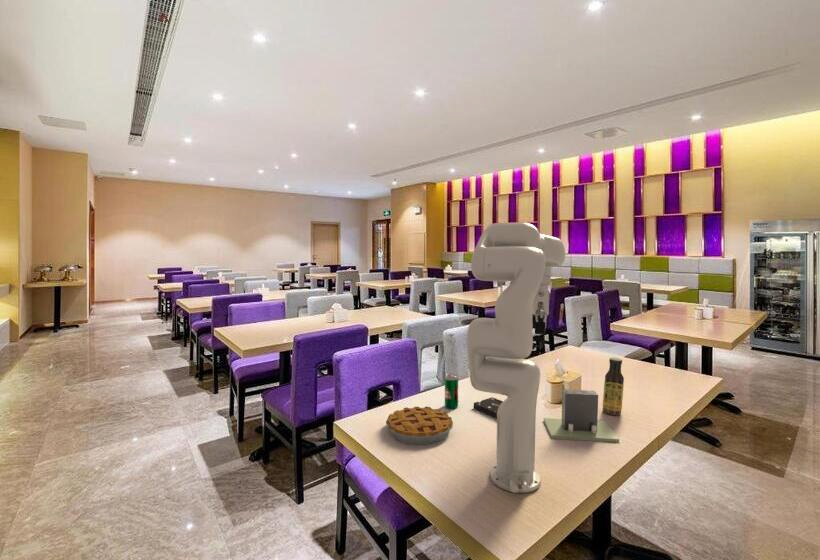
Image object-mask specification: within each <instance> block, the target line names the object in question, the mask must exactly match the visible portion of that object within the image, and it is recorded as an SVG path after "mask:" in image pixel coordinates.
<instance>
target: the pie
mask: <svg viewBox="0 0 820 560" xmlns="http://www.w3.org/2000/svg"><path fill="white" fill-rule="evenodd" d="M385 423H386V428H387V429H388V430H389V431H390V433H391V434H392V436H393V437H394V438H395V439H396V440H398V441H399V442H402V443H405V444H407V445H425V444H433V443H436V442H440V441H442V440H443V439H445V438H446V437H448V436H449V433H450V431H451V430H452V429H453V428H454V427H453V426H454V422H453V419H452V416H449V414H448V413H447V412H446V411H441V409H437V408H432V407H430V406H425V407H420V406H414V407H410V408H409V407H403V409H401V410H399V409H397V410H395V411H393V413H389V415H388V417H387V419H386V420H385Z"/></svg>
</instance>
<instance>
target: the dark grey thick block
mask: <svg viewBox="0 0 820 560" xmlns="http://www.w3.org/2000/svg"><path fill="white" fill-rule="evenodd" d="M561 392H562V393H561V397H562V398H561V419H562V426H563V428H564V430H568V428H569V424H573V430H574V431H592V425H596V426H597V421H599V420H598V418H599V414H598V413H599V394H598V393H597V392H596V391H595V390H589V389H588V390H587V389H584V390H583V389H565V388H564V389H562V391H561ZM596 432H597V429H596Z"/></svg>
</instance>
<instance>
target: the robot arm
mask: <svg viewBox="0 0 820 560" xmlns="http://www.w3.org/2000/svg"><path fill="white" fill-rule="evenodd" d="M564 245H565V244H564V242H563V241H562V240H561V238H558V237H555V236H550V235H547V234H546V235H545V234H543V233H542V234H541V233H540V231H539V230H538V229H537V227H536V226H535V225H533V224H531V223H528V222H496V223H495V222H494V223H492V224H489V225H488V226H487V227H485V229H484V230H483V232H482V233H481V235H480V237H479V240H478V241H477V243H476V246H475V248H474V250H473V253H472V257H471V261H470V269H471V273H472V275H473V276H474V278H475V279H477V280H478V281H485V282H511V283H510V284H509V285H508V286H507V287H506V288H505V289H503V291H502V292H501V293H500V295H499V296H498V297H497V298H496V300H495V303H494V308H495V309H494V311H495V312H494V313H495V317H494V318H493V317H492V318H490V317H477V318H475V319H473V320H471V322H470V324H469V325H468V327H467V331H466V352H467V353H466V354H467V363H468V372H469V381H470V384H471V387H473V389H474V390H476V391H479V392H483V393H490V394H495V395H496V394H497V395H502V396H506V398H505V399H504V401H503V400H502V401H503V402H502V404H501V405H500V406H499V408H498V411H497V419H496V460H495V461H496V464H495V465H493V466H492V467H491V468H490V471H489V477H490V480H491V481H492V482H493V484H494V485H496V486H497V487H498V488H500V489H502V490H505V491H508V492H512V493H513V494H515V493H518V494H523V493H524V494H525V493H531V492H533V491H536V490H537V489H538V488H539V487H540V486H541V481H542V478H541V475H540V473H539V472H538V471H537V470H536V469H535V465H536V464H535V462H536V461H535V460H536V420H537V418H536V416H537V415H536V412H537V399H538V393H539V387H540V383H541V372H540V371H541V370H540V367H539V366H538V364H536V363H535V362H534V361H532V360H529V359H527V358H528V357H529V356H530V355H531V354H532V351H533V346H534V345H533V343H534V342H533V341H534V338H533V337H534V335H533V334H535V335H545V334H546V316H549V314H550V312H549V311H550V307H549V306H550V305H549V303H550V302H549V287H550V286H552V284H551V283H552V267H554V268H555V267H556V268H557V267H560V266H562V265H563V264H564V262H565V258H566V249H565V246H564ZM533 331H534V332H533Z"/></svg>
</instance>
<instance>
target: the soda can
mask: <svg viewBox="0 0 820 560" xmlns="http://www.w3.org/2000/svg"><path fill="white" fill-rule="evenodd" d="M444 406H445V408H446V409H450V410H452V409H453V410H454V409H457V408H458V407H459V377H458V375H457V374H454V373H448V374H446V375H445V376H444Z"/></svg>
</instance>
